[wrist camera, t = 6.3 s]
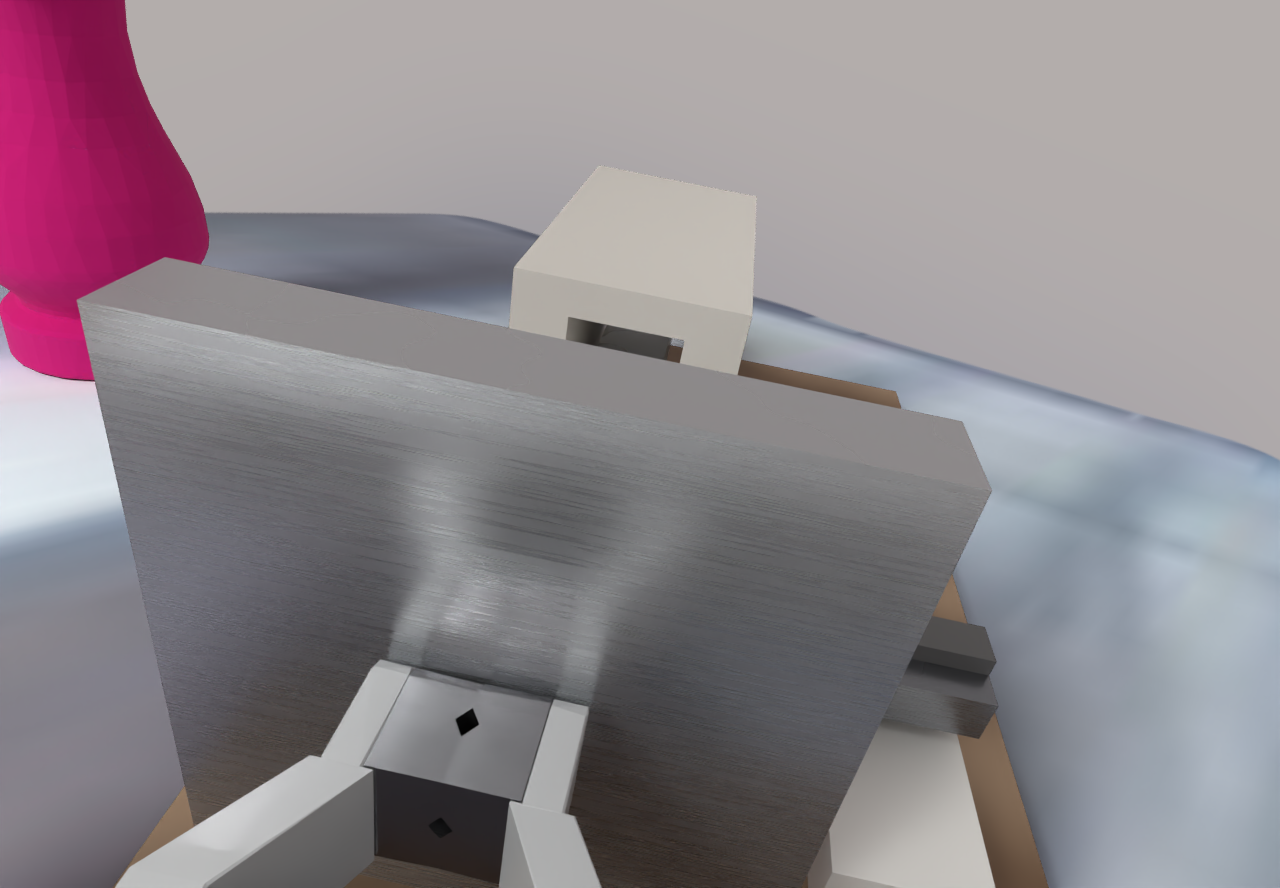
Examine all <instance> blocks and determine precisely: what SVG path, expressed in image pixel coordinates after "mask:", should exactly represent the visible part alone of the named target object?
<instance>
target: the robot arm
mask: <svg viewBox="0 0 1280 888" xmlns="http://www.w3.org/2000/svg"><path fill="white" fill-rule="evenodd" d="M589 709H590V707H587V706H582V705H578V704H573V703H569V702H565V701H560V700H556V699H554V698H550V697H545V696H541V695H536V694H531V693H526V692H522V691H517V690H512V689H507V688H503V687H498V686H493V685H489V684H484V685H482V684H478V683H474V682H470V681H466V680H463V679H459V678H455V677H451V676H447V675H443V674H439V673H435V672H431V671H427V670H423V669H419V668H415V667H410V666H406V665H402V664H398V663H394V662H389V661H385V660H381V659H380V660H379V661H378V662H377V663H376V664H375V665H374V666H373V667H372V668H371V670H370V672H369V673H368V675H367V677H366V679H365V680H364V682H363V684H362V686H361V687H360V689H359V691H358V693H357V694H356V696H355V698H354V700H353V701H352V703H351V705H350V707H349V708H348V710H347V712H346V714H345V715H344V717H343V719H342V721H341V722H340V724H339V726H338V728H337V729H336V731H335V733H334V735H333V736H332V738H331V740H330V742H329V743H328V745H327V747H326V749H325V750H324V752H323V754H322V756H321V757H318V756H313V755H309V756H307V757H306V758H304V759H303V760H301V761H299V762H298V763H296V764H295V765H293V766H291V767H290V768H288V769H287V770H285V771H283V772H282V773H280V774H279V775H277V776H275V777H274V778H272V779H270V780H269V781H267V782H266V783H264V784H262V785H261V786H259V787H258V788H256V789H254V790H253V791H251V792H250V793H248V794H246V795H245V796H243V797H242V798H240V799H238V800H237V801H235V802H233V803H232V804H230V805H229V806H227V807H225V808H224V809H222V810H221V811H219V812H217V813H216V814H214V815H213V816H211V817H209V818H208V819H206V820H205V821H203V822H201V823H200V824H198V825H196V826H195V827H193V828H192V829H190V830H188V831H187V832H185V833H184V834H182V835H180V836H179V837H177V838H176V839H174V840H172V841H171V842H169V843H168V844H166V845H164V846H163V847H161V848H159V849H158V850H156V851H155V852H153V853H151V854H150V855H148V856H147V857H145V858H143V859H142V860H140V861H139V862H137V863H135V864H134V865H132V866H131V867H129V869H128V870H127V871H126V873H125V874H124V875H123V877H122V878H121V880H120V881H119V882H118V884H117V885H116V887H115V888H344V887H345V886H346V885H347V884H348V883H349V882H350V881H351V880H353V879H354V878H355V877H356V876H357V875H358V874H359V873H361V872H362V871H363V870H364V869H365V868H366V867H367V866H368V865H370V864H371V863H372V862H373V861H374V856H379V857H384V858H389V859H394V860H398V861H403V862H408V863H413V864H418V865H423V866H428V867H433V868H438V869H442V870H445V871H449V872H453V873H457V874H460V875H464V876H468V877H472V878H476V879H479V880H483V881H487V882H491V883H495V884H498V885H499V888H602V887H601V884H600V882H599V879H598V876H597V874H596V871H595V868H594V865H593V863H592V860H591V857H590V855H589V852H588V849H587V847H586V844H585V841H584V838H583V836H582V833H581V830H580V828H579V825H578V822H577V820H576V817H575V816H573V815H569V814H568V813H569V809H570V805H571V800H572V796H573V791H574V786H575V781H576V776H577V771H578V766H579V761H580V756H581V751H582V746H583V741H584V736H585V731H586V726H587V721H588V716H589Z"/></svg>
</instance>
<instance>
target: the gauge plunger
mask: <svg viewBox="0 0 1280 888" xmlns="http://www.w3.org/2000/svg"><path fill="white" fill-rule="evenodd" d="M77 304H78V308H79V313H80V317H81V322H82V326H83V331H84V335H85V340H86V344H87V348H88V353H89V357H90V362H91V366H92V371H93V375H94V380H95V384H96V389H97V393H98V398H99V402H100V407H101V411H102V416H103V420H104V425H105V429H106V434H107V438H108V443H109V447H110V452H111V456H112V461H113V465H114V470H115V474H116V479H117V483H118V488H119V492H120V497H121V501H122V506H123V510H124V515H125V519H126V524H127V528H128V533H129V537H130V542H131V546H132V551H133V555H134V560H135V564H136V569H137V573H138V578H139V582H140V587H141V591H142V596H143V600H144V605H145V609H146V614H147V618H148V623H149V627H150V632H151V636H152V641H153V645H154V650H155V654H156V659H157V663H158V668H159V672H160V677H161V681H162V686H163V690H164V695H165V699H166V704H167V708H168V713H169V717H170V722H171V726H172V731H173V735H174V740H175V744H176V749H177V753H178V757H179V762H180V766H181V771H182V775H183V780H184V784H185V789H186V793H187V798H188V802H189V807H190V811H191V816H192V820H193V825H194V827H195V826H196V825H198V824H200V823H201V822H203V821H205V820H206V819H208V818H209V817H211V816H213V815H214V814H216V813H217V812H219V811H221V810H222V809H224V808H225V807H227V806H229V805H230V804H232V803H233V802H235V801H237V800H238V799H240V798H242V797H243V796H245V795H246V794H248V793H250V792H251V791H253V790H254V789H256V788H258V787H259V786H261V785H262V784H264V783H266V782H267V781H269V780H270V779H272V778H274V777H275V776H277V775H279V774H280V773H282V772H283V771H285V770H287V769H288V768H290V767H291V766H293V765H295V764H296V763H298V762H299V761H301V760H303V759H304V758H306V757H307V756H309V755H313V756H318V757H321V756H322V754H323V752H324V750H325V749H326V747H327V745H328V743H329V742H330V740H331V738H332V736H333V735H334V733H335V731H336V729H337V728H338V726H339V724H340V722H341V721H342V719H343V717H344V715H345V714H346V712H347V710H348V708H349V707H350V705H351V703H352V701H353V700H354V698H355V696H356V694H357V693H358V691H359V689H360V687H361V686H362V684H363V682H364V680H365V679H366V677H367V675H368V673H369V672H370V670H371V668H372V667H373V666H374V665H375V664H376V663H377V662H378V661H379V660H380V659H381V660H385V661H389V662H394V663H398V664H402V665H406V666H410V667H415V668H419V669H423V670H427V671H431V672H435V673H439V674H443V675H447V676H451V677H455V678H459V679H463V680H466V681H470V682H474V683H478V684H482V685H484V684H489V685H493V686H498V687H503V688H507V689H512V690H517V691H522V692H526V693H531V694H536V695H541V696H545V697H550V698H554V699H556V700H560V701H565V702H569V703H573V704H578V705H582V706H587V707H590V709H589V716H588V721H587V726H586V731H585V736H584V741H583V746H582V751H581V756H580V761H579V766H578V771H577V776H576V781H575V786H574V791H573V796H572V800H571V805H570V809H569V813H568V814H569V815H573V816H575V817H576V820H577V822H578V825H579V828H580V830H581V833H582V836H583V838H584V841H585V844H586V847H587V849H588V852H589V855H590V857H591V860H592V863H593V865H594V868H595V871H596V874H597V876H598V879H599V882H600V884H601V887H602V888H801V887H802V885H803V883H804V881H805V879H806V877H807V874H808V872H809V870H810V868H811V866H812V864H813V862H814V860H815V858H816V856H817V854H818V852H819V850H820V847H821V845H822V843H823V841H824V839H825V837H826V835H827V833H828V831H829V829H830V827H831V825H832V823H833V820H834V818H835V816H836V814H837V812H838V810H839V808H840V806H841V804H842V802H843V800H844V798H845V795H846V793H847V791H848V789H849V787H850V785H851V783H852V781H853V779H854V777H855V775H856V773H857V771H858V768H859V766H860V764H861V762H862V760H863V758H864V756H865V754H866V752H867V750H868V748H869V746H870V743H871V741H872V739H873V737H874V735H875V733H876V731H877V729H878V727H879V725H880V723H881V721H882V719H883V718H885V719H889V720H894V721H898V722H903V723H907V724H912V725H917V726H921V727H926V728H930V729H935V730H939V731H944V732H949V733H953V734H958V735H962V736H967V737H972V738H976V739H979V738H980V737H981V735H982V733H983V732H984V730H985V728H986V726H987V725H988V723H989V721H990V720H991V718H992V716H993V715H994V713H995V711H996V709H997V708H998V703H997V700H996V697H995V694H994V691H993V687H992V684H991V681H990V678H989V675H984V674H979V673H975V672H970V671H966V670H961V669H956V668H952V667H947V666H942V665H938V664H933V663H928V662H924V661H919V660H915V659H911V658H912V656H913V654H914V652H915V650H916V648H917V646H918V644H919V642H920V639H921V637H922V635H923V633H924V631H925V629H926V627H927V625H928V623H929V621H930V619H931V617H932V615H933V612H934V610H935V608H936V606H937V604H938V602H939V600H940V598H941V596H942V594H943V592H944V590H945V587H946V585H947V583H948V581H949V579H950V577H951V575H952V573H953V571H954V569H955V567H956V565H957V563H958V560H959V558H960V556H961V554H962V552H963V550H964V548H965V546H966V544H967V542H968V540H969V538H970V535H971V533H972V531H973V529H974V527H975V525H976V523H977V521H978V519H979V517H980V515H981V513H982V511H983V508H984V506H985V504H986V502H987V500H988V498H989V496H990V494H991V492H992V490H991V487H990V485H989V483H988V480H987V478H986V476H985V473H984V471H983V469H982V466H981V464H980V462H979V459H978V457H977V455H976V453H975V450H974V448H973V446H972V443H971V441H970V439H969V436H968V434H967V432H966V429H965V427H964V425H963V423H962V421H957V420H952V419H947V418H943V417H938V416H933V415H928V414H923V413H918V412H914V411H909V410H904V409H899V408H894V407H889V406H884V405H880V404H875V403H870V402H865V401H860V400H855V399H850V398H846V397H841V396H836V395H831V394H826V393H821V392H816V391H812V390H807V389H802V388H797V387H792V386H787V385H783V384H778V383H773V382H768V381H763V380H758V379H753V378H749V377H744V376H739V375H734V374H729V373H724V372H719V371H715V370H710V369H705V368H700V367H695V366H690V365H686V364H681V363H676V362H671V361H667V357H668V353H669V349H670V345H671V340H672V338H670V337H665V336H660V335H655V334H650V333H645V332H640V331H635V330H631V329H626V328H621V327H616V326H611V325H607V326H606V328H605V330H604V333H603V335H602V337H601V339H600V342H599V344H598V346H593V345H588V344H584V343H579V342H574V341H569V340H564V339H559V338H555V337H550V336H545V335H540V334H535V333H530V332H525V331H521V330H516V329H511V328H506V327H501V326H496V325H491V324H487V323H482V322H477V321H472V320H467V319H462V318H458V317H453V316H448V315H443V314H438V313H433V312H428V311H424V310H419V309H414V308H409V307H404V306H399V305H394V304H390V303H385V302H380V301H375V300H370V299H365V298H360V297H356V296H351V295H346V294H341V293H336V292H331V291H327V290H322V289H317V288H312V287H307V286H302V285H297V284H293V283H288V282H283V281H278V280H273V279H268V278H263V277H259V276H254V275H249V274H244V273H239V272H234V271H230V270H225V269H220V268H215V267H210V266H205V265H200V264H196V263H191V262H186V261H181V260H176V259H171V258H166V257H164V258H162V259H160V260H158V261H156V262H154V263H152V264H150V265H148V266H146V267H143V268H141V269H139V270H137V271H135V272H133V273H131V274H129V275H127V276H125V277H123V278H121V279H119V280H117V281H115V282H112V283H110V284H108V285H106V286H104V287H102V288H100V289H98V290H96V291H94V292H92V293H90V294H88V295H86V296H84V297H81V298H79V299H77ZM359 874H360V875H364V876H369V877H373V878H377V879H382V880H386V881H390V882H395V883H399V884H404V885H408V886H412V887H417V888H499V885H498V884H495V883H491V882H487V881H483V880H479V879H476V878H472V877H468V876H464V875H460V874H457V873H453V872H449V871H445V870H442V869H438V868H433V867H428V866H423V865H418V864H413V863H408V862H403V861H398V860H394V859H389V858H384V857H379V856H374V861H373V862H372V863H371V864H370V865H368V866H367V867H366V868H365V869H364V870H363V871H362V872H361V873H359Z"/></svg>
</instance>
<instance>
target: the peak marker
mask: <svg viewBox="0 0 1280 888" xmlns="http://www.w3.org/2000/svg"><path fill="white" fill-rule="evenodd" d="M911 659H915V660H919V661H924V662H928V663H933V664H938V665H942V666H947V667H952V668H956V669H961V670H966V671H970V672H975V673H979V674H984V675H989V674H990V672H991V671H992V669H993V667H994V665H995V663H996V659H995V656H994V653H993V650H992V647H991V644H990V641H989V638H988V635H987V632H986V629H985V627H982V626H977V625H972V624H968V623H963V622H958V621H954V620H949V619H944V618H940V617H935V616H932V617H931V619H930V621H929V623H928V625H927V627H926V629H925V631H924V633H923V635H922V637H921V639H920V642H919V644H918V646H917V648H916V650H915V652H914V654H913V656H912V658H911Z"/></svg>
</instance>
